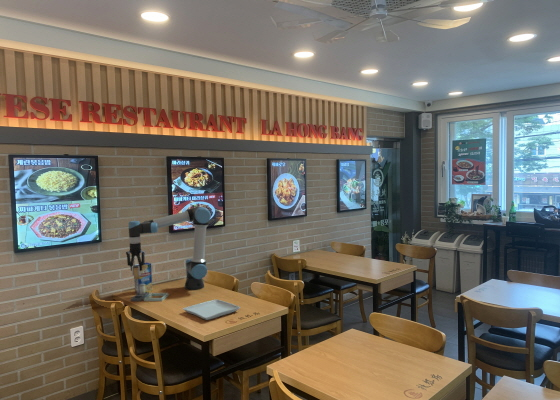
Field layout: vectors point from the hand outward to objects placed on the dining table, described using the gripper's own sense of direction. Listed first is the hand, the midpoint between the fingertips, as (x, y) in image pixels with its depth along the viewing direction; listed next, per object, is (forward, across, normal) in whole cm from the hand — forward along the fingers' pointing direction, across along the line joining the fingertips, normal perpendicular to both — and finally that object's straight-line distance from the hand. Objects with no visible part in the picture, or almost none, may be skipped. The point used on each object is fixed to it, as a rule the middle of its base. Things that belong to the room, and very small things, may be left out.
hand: (136, 275), depth 291 cm
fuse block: (+19, 0, -4) cm, 19 cm away
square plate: (+19, -60, +26) cm, 68 cm away
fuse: (+18, 0, -9) cm, 20 cm away
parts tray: (+19, -12, -3) cm, 23 cm away
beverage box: (+19, +4, -20) cm, 28 cm away
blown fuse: (+3, 0, 0) cm, 3 cm away
